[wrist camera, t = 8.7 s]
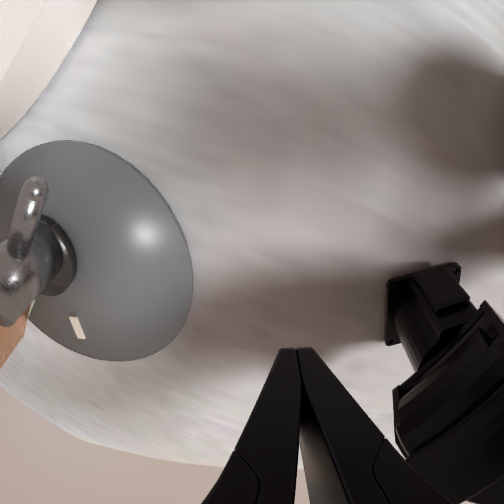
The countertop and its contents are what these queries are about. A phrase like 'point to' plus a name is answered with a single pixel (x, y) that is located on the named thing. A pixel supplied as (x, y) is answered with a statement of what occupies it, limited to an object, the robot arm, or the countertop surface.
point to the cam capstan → (31, 263)
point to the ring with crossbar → (34, 49)
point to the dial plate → (106, 252)
